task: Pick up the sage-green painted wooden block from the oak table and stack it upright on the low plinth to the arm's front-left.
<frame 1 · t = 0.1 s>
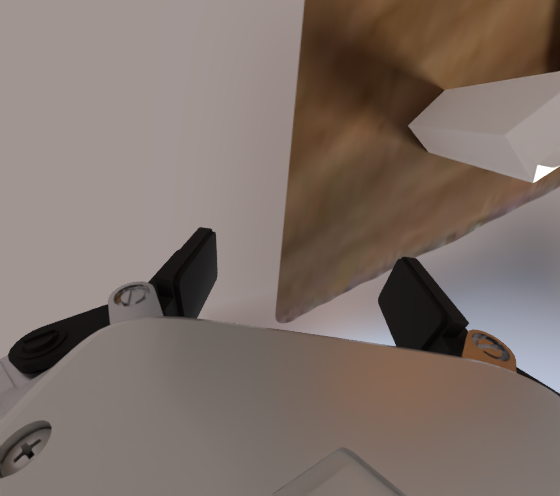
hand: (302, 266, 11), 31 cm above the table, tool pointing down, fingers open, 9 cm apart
milk: (435, 123, 34), on the table
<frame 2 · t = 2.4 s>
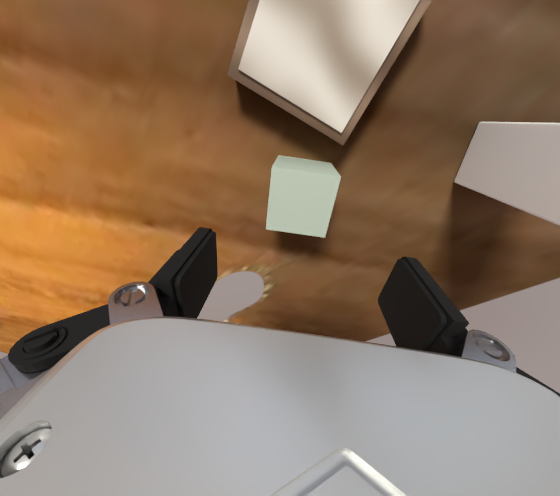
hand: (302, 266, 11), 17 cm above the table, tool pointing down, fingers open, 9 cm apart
milk: (492, 154, 23), on the table
plinth: (321, 42, 19), on the table
block: (300, 185, 26), on the table
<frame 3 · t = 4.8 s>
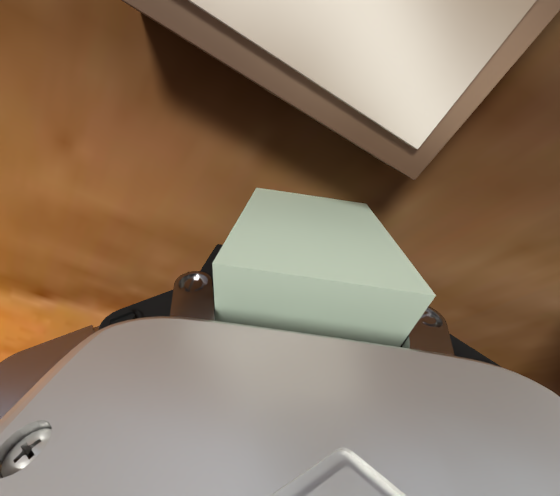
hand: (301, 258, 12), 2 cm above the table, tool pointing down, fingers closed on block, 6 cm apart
block: (301, 242, 13), on the table, touching gripper
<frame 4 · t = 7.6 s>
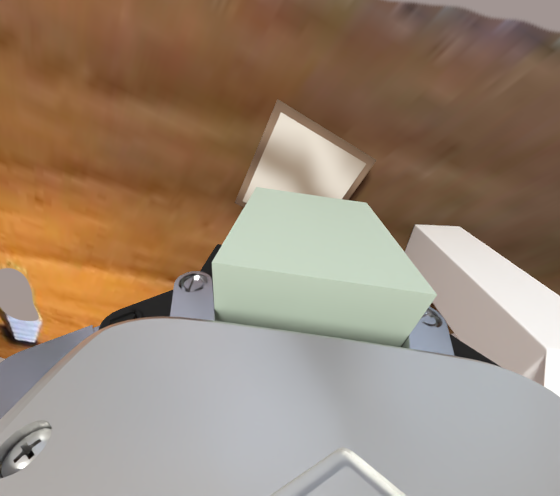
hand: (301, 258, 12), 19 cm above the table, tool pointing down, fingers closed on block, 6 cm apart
milk: (428, 242, 31), on the table
plinth: (300, 176, 28), on the table
block: (301, 242, 13), point 17 cm above the table, touching gripper
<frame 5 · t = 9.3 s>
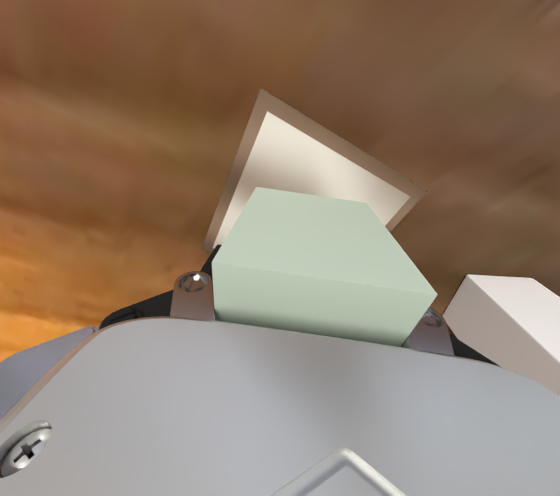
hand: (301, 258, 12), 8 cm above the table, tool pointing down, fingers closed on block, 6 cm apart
milk: (481, 297, 22), on the table
plinth: (300, 208, 18), on the table
block: (301, 242, 13), point 6 cm above the table, touching gripper
when the fingers open (6 cm above the table, at t = 10.6 s): block drops 1 cm, resting on plinth.
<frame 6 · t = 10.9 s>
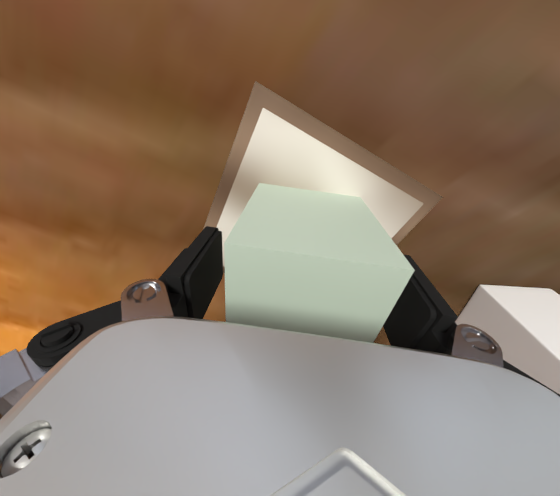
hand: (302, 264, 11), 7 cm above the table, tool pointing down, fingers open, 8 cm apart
milk: (494, 307, 21), on the table
plinth: (301, 214, 17), on the table
block: (301, 234, 14), point 3 cm above the table, touching plinth
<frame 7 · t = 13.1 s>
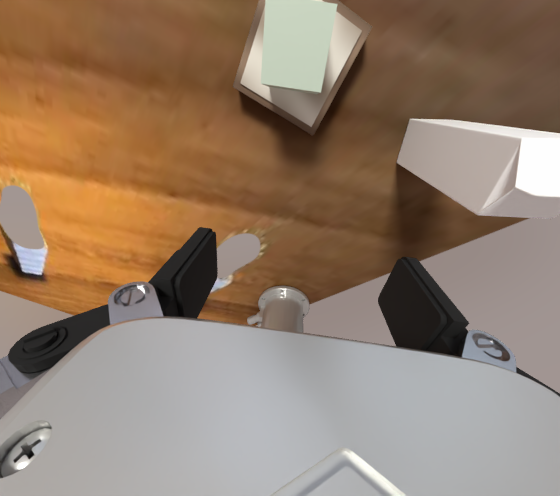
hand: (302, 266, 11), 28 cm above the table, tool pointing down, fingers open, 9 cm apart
milk: (422, 142, 32), on the table
plinth: (297, 62, 28), on the table
block: (296, 59, 25), point 3 cm above the table, touching plinth
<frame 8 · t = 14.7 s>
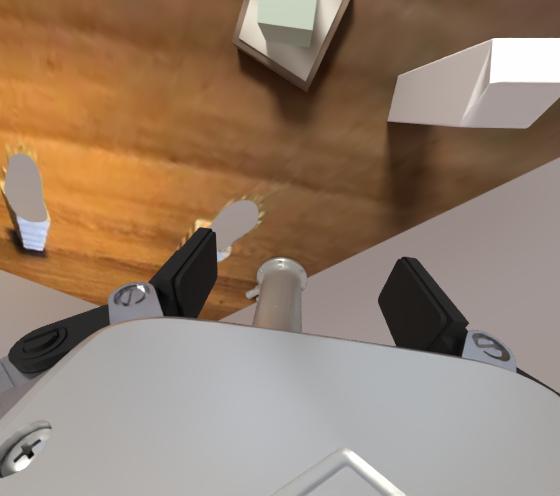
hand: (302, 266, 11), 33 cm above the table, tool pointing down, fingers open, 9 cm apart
milk: (410, 99, 34), on the table
plinth: (291, 21, 30), on the table
block: (290, 12, 27), point 3 cm above the table, touching plinth
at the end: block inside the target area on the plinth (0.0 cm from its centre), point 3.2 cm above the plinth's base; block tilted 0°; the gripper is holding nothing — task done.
